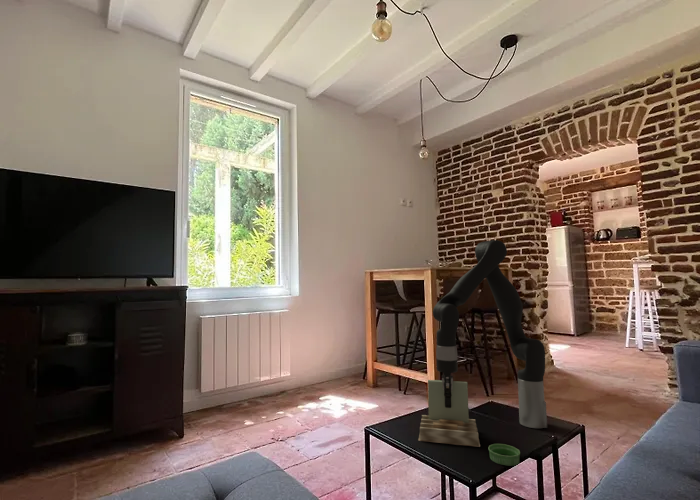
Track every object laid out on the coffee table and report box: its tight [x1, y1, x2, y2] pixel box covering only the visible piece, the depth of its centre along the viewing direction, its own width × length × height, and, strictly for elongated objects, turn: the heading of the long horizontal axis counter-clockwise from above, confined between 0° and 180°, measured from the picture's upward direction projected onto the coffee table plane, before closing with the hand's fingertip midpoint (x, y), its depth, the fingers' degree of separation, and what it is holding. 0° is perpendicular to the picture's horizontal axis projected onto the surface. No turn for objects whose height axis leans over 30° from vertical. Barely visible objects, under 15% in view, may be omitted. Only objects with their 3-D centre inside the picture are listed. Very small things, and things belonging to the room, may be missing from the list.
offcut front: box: [433, 422, 458, 430], centre depth 128 cm, size 8×2×5 cm, turn 76°
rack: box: [417, 414, 481, 448], centre depth 131 cm, size 20×14×6 cm
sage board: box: [427, 379, 470, 423], centre depth 136 cm, size 14×2×16 cm, turn 76°
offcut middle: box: [439, 419, 463, 426], centre depth 131 cm, size 8×2×5 cm, turn 76°
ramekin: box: [488, 443, 521, 467], centre depth 113 cm, size 9×9×4 cm
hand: (448, 406), depth 136 cm, fingers closed on sage board, 2 cm apart
